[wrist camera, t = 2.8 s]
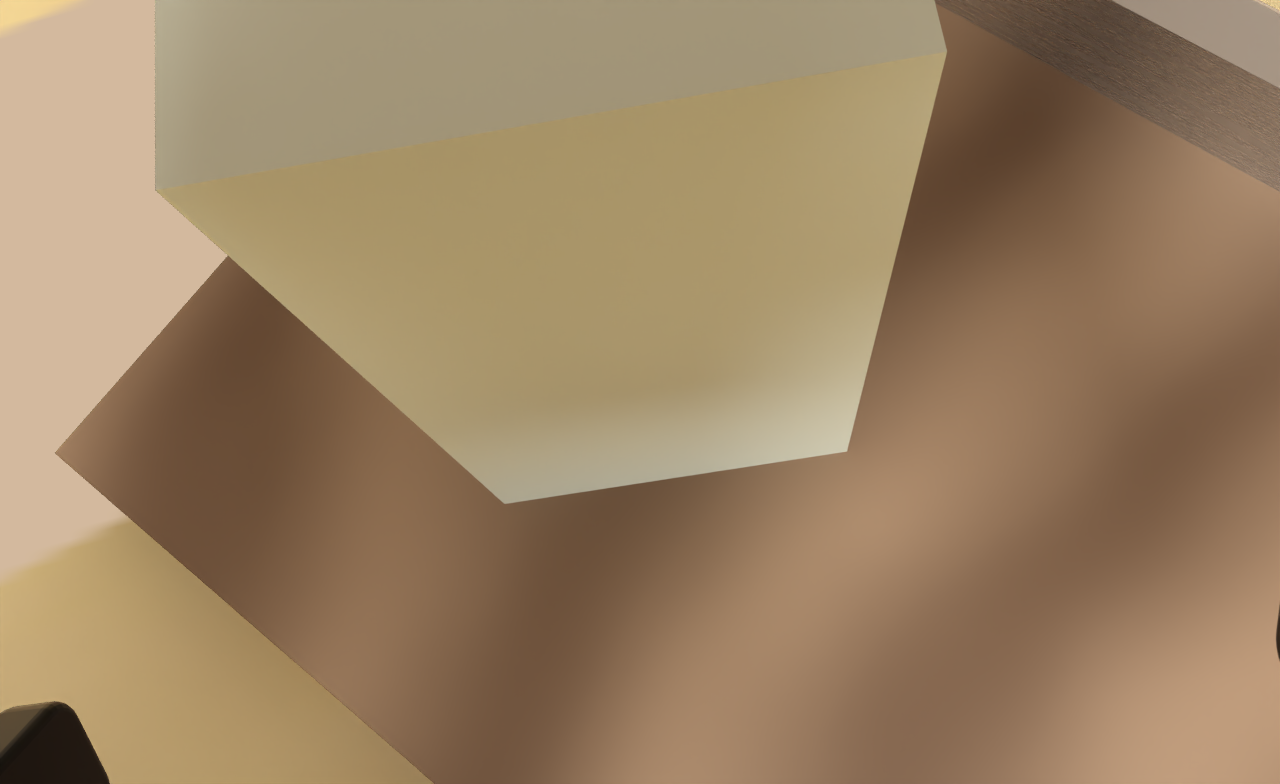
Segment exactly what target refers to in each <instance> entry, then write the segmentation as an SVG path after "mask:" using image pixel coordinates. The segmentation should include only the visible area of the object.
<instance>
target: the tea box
mask: <svg viewBox="0 0 1280 784" xmlns="http://www.w3.org/2000/svg"><path fill="white" fill-rule="evenodd" d="M946 54H947V49H946V45H945V41H944V37H943V33H942V29H941V25H940V21H939V17H938V12H937V8H936V4H935V0H155V190H156V191H157V192H158V193H159V194H160V195H161V196H162V197H163V198H165V199H166V200H167V201H168V202H169V203H170V204H171V205H173V207H175V208H176V209H177V210H178V211H179V212H180V213H181V214H182V215H183V216H185V217H186V218H187V219H188V220H189V221H190V222H191V223H192V224H193V225H195V226H196V227H197V228H198V229H199V230H200V231H201V232H202V233H204V234H205V235H206V236H207V237H208V238H209V239H210V240H211V241H213V242H214V243H215V244H216V245H217V246H218V247H219V248H220V249H221V250H222V251H224V252H225V253H226V254H227V255H228V256H229V257H230V258H231V259H232V260H234V261H235V262H236V263H237V264H238V265H239V266H240V267H241V268H242V269H244V270H245V271H246V272H247V273H248V274H249V275H250V276H251V277H252V278H254V279H255V280H256V281H257V282H258V283H259V284H260V285H261V286H262V287H264V288H265V289H266V290H267V291H268V292H269V293H270V294H271V295H272V296H274V297H275V298H276V299H277V300H278V301H279V302H280V303H281V304H283V305H284V306H285V307H286V308H287V309H288V310H289V311H290V312H291V313H293V314H294V315H295V316H296V317H297V318H298V319H299V320H300V321H301V322H303V323H304V324H305V325H306V326H307V327H308V328H309V329H310V330H311V331H313V332H314V333H315V334H316V335H317V336H318V337H319V338H320V339H321V340H323V341H324V342H325V343H326V344H327V345H328V346H329V347H330V348H331V349H333V350H334V351H335V352H336V353H337V354H338V355H339V356H340V357H341V358H343V359H344V360H345V361H346V362H347V363H348V364H349V365H350V366H351V367H353V368H354V369H355V370H356V371H357V372H358V373H359V374H360V375H362V376H363V377H364V378H365V379H366V380H367V381H368V382H369V383H370V384H372V385H373V386H374V387H375V388H376V389H377V390H378V391H379V392H380V393H382V394H383V395H384V396H385V397H386V398H387V399H388V400H389V401H390V402H392V403H393V404H394V405H395V406H396V407H397V408H398V409H399V410H400V411H402V412H403V413H404V414H405V415H406V416H407V417H408V418H409V419H410V420H412V421H413V422H414V423H415V424H416V425H417V426H418V427H419V428H420V429H422V430H423V431H424V432H425V433H426V434H427V435H428V436H429V437H431V438H432V439H433V440H434V441H435V442H436V443H437V444H438V445H439V446H441V447H442V448H443V449H444V450H445V451H446V452H447V453H448V454H449V455H451V456H452V457H453V458H454V459H455V460H456V461H457V462H458V463H459V464H461V465H462V466H463V467H464V468H465V469H466V470H467V471H468V472H469V473H471V474H472V475H473V476H474V477H475V478H476V479H477V480H478V481H479V482H481V483H482V484H483V485H484V486H485V487H486V488H487V489H488V490H489V491H491V492H492V493H493V494H494V495H495V496H496V497H497V498H498V499H500V500H501V501H502V502H503V503H504V504H508V503H514V502H521V501H527V500H534V499H541V498H547V497H554V496H560V495H567V494H573V493H580V492H586V491H593V490H599V489H606V488H612V487H619V486H625V485H632V484H638V483H645V482H652V481H658V480H665V479H671V478H678V477H684V476H691V475H697V474H704V473H710V472H717V471H723V470H730V469H736V468H743V467H749V466H756V465H762V464H769V463H776V462H782V461H789V460H795V459H802V458H808V457H815V456H821V455H828V454H834V453H841V452H847V449H848V445H849V441H850V437H851V433H852V429H853V425H854V421H855V417H856V413H857V409H858V405H859V401H860V397H861V393H862V389H863V385H864V381H865V377H866V373H867V369H868V365H869V361H870V357H871V354H872V350H873V346H874V342H875V338H876V334H877V330H878V326H879V322H880V318H881V314H882V310H883V306H884V302H885V298H886V294H887V290H888V286H889V282H890V278H891V274H892V270H893V266H894V262H895V258H896V254H897V250H898V246H899V242H900V238H901V234H902V230H903V226H904V222H905V218H906V214H907V210H908V206H909V202H910V198H911V194H912V190H913V186H914V182H915V178H916V174H917V170H918V166H919V162H920V158H921V154H922V150H923V146H924V142H925V138H926V134H927V130H928V126H929V122H930V118H931V114H932V110H933V106H934V102H935V98H936V94H937V90H938V86H939V82H940V78H941V74H942V70H943V66H944V62H945V58H946Z"/></svg>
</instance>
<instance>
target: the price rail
mask: <svg viewBox="0 0 1280 784" xmlns="http://www.w3.org/2000/svg"><path fill="white" fill-rule="evenodd" d="M935 3H936V4H938V5H940V6H942V7H943V8H945V9H947V10H949V11H951V12H952V13H954V14H956V15H958V16H960V17H962V18H963V19H965V20H967V21H969V22H971V23H973V24H974V25H976V26H978V27H980V28H982V29H983V30H985V31H987V32H989V33H991V34H993V35H994V36H996V37H998V38H1000V39H1002V40H1004V41H1005V42H1007V43H1009V44H1011V45H1013V46H1014V47H1016V48H1018V49H1020V50H1022V51H1024V52H1025V53H1027V54H1029V55H1031V56H1033V57H1035V58H1036V59H1038V60H1040V61H1042V62H1044V63H1045V64H1047V65H1049V66H1051V67H1053V68H1055V69H1056V70H1058V71H1060V72H1062V73H1064V74H1066V75H1067V76H1069V77H1071V78H1073V79H1075V80H1076V81H1078V82H1080V83H1082V84H1084V85H1086V86H1087V87H1089V88H1091V89H1093V90H1095V91H1097V92H1098V93H1100V94H1102V95H1104V96H1106V97H1107V98H1109V99H1111V100H1113V101H1115V102H1117V103H1118V104H1120V105H1122V106H1124V107H1126V108H1128V109H1129V110H1131V111H1133V112H1135V113H1137V114H1138V115H1140V116H1142V117H1144V118H1146V119H1148V120H1149V121H1151V122H1153V123H1155V124H1157V125H1159V126H1160V127H1162V128H1164V129H1166V130H1168V131H1169V132H1171V133H1173V134H1175V135H1177V136H1179V137H1180V138H1182V139H1184V140H1186V141H1188V142H1190V143H1191V144H1193V145H1195V146H1197V147H1199V148H1200V149H1202V150H1204V151H1206V152H1208V153H1210V154H1211V155H1213V156H1215V157H1217V158H1219V159H1221V160H1222V161H1224V162H1226V163H1228V164H1230V165H1231V166H1233V167H1235V168H1237V169H1239V170H1241V171H1242V172H1244V173H1246V174H1248V175H1250V176H1252V177H1253V178H1255V179H1257V180H1259V181H1261V182H1262V183H1264V184H1266V185H1268V186H1270V187H1272V188H1273V189H1275V190H1277V191H1279V192H1280V11H1279V10H1277V9H1275V8H1273V7H1271V6H1269V5H1267V4H1265V3H1263V2H1261V1H1259V0H935Z"/></svg>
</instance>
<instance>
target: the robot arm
mask: <svg viewBox="0 0 1280 784" xmlns="http://www.w3.org/2000/svg"><path fill="white" fill-rule="evenodd" d="M1276 647H1277V653H1278V658H1279V661H1280V605H1279V613H1278V621H1277V629H1276ZM0 784H110V783H109V779H108V776H107V774H106V772H105V770H104V768H103V766H102V764H101V762H100V760H99V758H98V756H97V754H96V752H95V750H94V748H93V746H92V744H91V742H90V740H89V738H88V736H87V734H86V732H85V730H84V728H83V726H82V724H81V722H80V720H79V718H78V716H77V715H76V713H75V712H74V710H73V709H72V708H70V707H69V706H68V705H67V704H65V703H61V702H47V703H39V704H31V705H23V706H17V707H12V708H10V709H7V710H5V711H3V712H2V713H0Z"/></svg>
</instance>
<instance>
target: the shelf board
mask: <svg viewBox="0 0 1280 784" xmlns="http://www.w3.org/2000/svg"><path fill="white" fill-rule="evenodd" d="M935 4H936V3H935ZM936 8H937V12H938V17H939V21H940V25H941V29H942V33H943V37H944V41H945V45H946V49H947V54H946V58H945V62H944V66H943V70H942V74H941V78H940V82H939V86H938V90H937V94H936V98H935V102H934V106H933V110H932V114H931V118H930V122H929V126H928V130H927V134H926V138H925V142H924V146H923V150H922V154H921V158H920V162H919V166H918V170H917V174H916V178H915V182H914V186H913V190H912V194H911V198H910V202H909V206H908V210H907V214H906V218H905V222H904V226H903V230H902V234H901V238H900V242H899V246H898V250H897V254H896V258H895V262H894V266H893V270H892V274H891V278H890V282H889V286H888V290H887V294H886V298H885V302H884V306H883V310H882V314H881V318H880V322H879V326H878V330H877V334H876V338H875V342H874V346H873V350H872V354H871V357H870V361H869V365H868V369H867V373H866V377H865V381H864V385H863V389H862V393H861V397H860V401H859V405H858V409H857V413H856V417H855V421H854V425H853V429H852V433H851V437H850V441H849V445H848V449H847V452H841V453H834V454H828V455H821V456H815V457H808V458H802V459H795V460H789V461H782V462H776V463H769V464H762V465H756V466H749V467H743V468H736V469H730V470H723V471H717V472H710V473H704V474H697V475H691V476H684V477H678V478H671V479H665V480H658V481H652V482H645V483H638V484H632V485H625V486H619V487H612V488H606V489H599V490H593V491H586V492H580V493H573V494H567V495H560V496H554V497H547V498H541V499H534V500H527V501H521V502H514V503H508V504H504V503H503V502H502V501H501V500H500V499H498V498H497V497H496V496H495V495H494V494H493V493H492V492H491V491H489V490H488V489H487V488H486V487H485V486H484V485H483V484H482V483H481V482H479V481H478V480H477V479H476V478H475V477H474V476H473V475H472V474H471V473H469V472H468V471H467V470H466V469H465V468H464V467H463V466H462V465H461V464H459V463H458V462H457V461H456V460H455V459H454V458H453V457H452V456H451V455H449V454H448V453H447V452H446V451H445V450H444V449H443V448H442V447H441V446H439V445H438V444H437V443H436V442H435V441H434V440H433V439H432V438H431V437H429V436H428V435H427V434H426V433H425V432H424V431H423V430H422V429H420V428H419V427H418V426H417V425H416V424H415V423H414V422H413V421H412V420H410V419H409V418H408V417H407V416H406V415H405V414H404V413H403V412H402V411H400V410H399V409H398V408H397V407H396V406H395V405H394V404H393V403H392V402H390V401H389V400H388V399H387V398H386V397H385V396H384V395H383V394H382V393H380V392H379V391H378V390H377V389H376V388H375V387H374V386H373V385H372V384H370V383H369V382H368V381H367V380H366V379H365V378H364V377H363V376H362V375H360V374H359V373H358V372H357V371H356V370H355V369H354V368H353V367H351V366H350V365H349V364H348V363H347V362H346V361H345V360H344V359H343V358H341V357H340V356H339V355H338V354H337V353H336V352H335V351H334V350H333V349H331V348H330V347H329V346H328V345H327V344H326V343H325V342H324V341H323V340H321V339H320V338H319V337H318V336H317V335H316V334H315V333H314V332H313V331H311V330H310V329H309V328H308V327H307V326H306V325H305V324H304V323H303V322H301V321H300V320H299V319H298V318H297V317H296V316H295V315H294V314H293V313H291V312H290V311H289V310H288V309H287V308H286V307H285V306H284V305H283V304H281V303H280V302H279V301H278V300H277V299H276V298H275V297H274V296H272V295H271V294H270V293H269V292H268V291H267V290H266V289H265V288H264V287H262V286H261V285H260V284H259V283H258V282H257V281H256V280H255V279H254V278H252V277H251V276H250V275H249V274H248V273H247V272H246V271H245V270H244V269H242V268H241V267H240V266H239V265H238V264H237V263H236V262H235V261H234V260H232V259H231V258H230V257H229V256H228V257H227V258H226V259H225V260H224V261H223V262H222V263H221V264H220V265H219V267H218V268H217V269H216V270H215V271H214V272H213V273H212V275H211V276H210V277H209V278H208V279H207V280H206V282H205V283H204V284H203V285H202V286H201V287H200V288H199V289H198V291H197V292H196V293H195V294H194V295H193V296H192V297H191V299H190V300H189V301H188V302H187V303H186V304H185V305H184V306H183V308H182V309H181V310H180V311H179V312H178V313H177V315H176V316H175V317H174V318H173V319H172V320H171V321H170V322H169V324H168V325H167V326H166V327H165V328H164V329H163V331H162V332H161V333H160V334H159V335H158V336H157V337H156V338H155V340H154V341H153V342H152V343H151V344H150V345H149V346H148V347H147V349H146V350H145V351H144V352H143V353H142V354H141V356H140V357H139V358H138V359H137V360H136V361H135V362H134V364H133V365H132V366H131V367H130V368H129V369H128V370H127V371H126V373H125V374H124V375H123V376H122V377H121V378H120V379H119V381H118V382H117V383H116V384H115V385H114V386H113V387H112V389H111V390H110V391H109V392H108V393H107V394H106V395H105V397H104V398H103V399H102V400H101V401H100V402H99V403H98V404H97V406H96V407H95V408H94V409H93V410H92V411H91V412H90V414H89V415H88V416H87V417H86V418H85V419H84V420H83V422H82V423H81V424H80V425H79V426H78V427H77V428H76V430H75V431H74V432H73V433H72V434H71V435H70V436H69V438H68V439H67V440H66V441H65V442H64V443H63V444H62V445H61V447H60V448H59V449H58V450H57V451H56V452H55V453H56V455H58V456H59V457H60V458H61V459H62V460H63V461H65V462H66V463H67V464H68V465H69V466H70V467H72V468H73V469H74V470H75V471H76V472H77V473H78V474H79V475H81V476H82V477H83V478H84V479H85V480H86V481H88V482H89V483H90V484H91V485H92V486H93V487H94V488H96V489H97V490H98V491H99V492H100V493H101V494H102V495H104V496H105V497H106V498H107V499H108V500H109V501H111V502H112V503H113V504H114V505H115V506H116V507H117V508H118V509H120V510H121V511H122V512H123V513H124V514H125V515H127V516H128V517H129V518H130V519H131V520H132V521H133V522H135V523H136V524H137V525H138V526H139V527H140V528H141V529H143V530H144V531H145V532H146V533H147V534H148V535H150V536H151V537H152V538H153V539H154V540H155V541H156V542H158V543H159V544H160V545H161V546H162V547H163V548H164V549H166V550H167V551H168V552H169V553H170V554H171V555H172V556H174V557H175V558H176V559H177V560H178V561H179V562H181V563H182V564H183V565H184V566H185V567H186V568H187V569H189V570H190V571H191V572H192V573H193V574H194V575H195V576H197V577H198V578H199V579H200V580H201V581H202V582H203V583H205V584H206V585H207V586H208V587H209V588H210V589H212V590H213V591H214V592H215V593H216V594H217V595H218V596H220V597H221V598H222V599H223V600H224V601H225V602H226V603H228V604H229V605H230V606H231V607H232V608H233V609H235V610H236V611H237V612H238V613H239V614H240V615H241V616H243V617H244V618H245V619H246V620H247V621H248V622H249V623H251V624H252V625H253V626H254V627H255V628H256V629H257V630H259V631H260V632H261V633H262V634H263V635H264V636H266V637H267V638H268V639H269V640H270V641H271V642H272V643H274V644H275V645H276V646H277V647H278V648H279V649H280V650H282V651H283V652H284V653H285V654H286V655H287V656H289V657H290V658H291V659H292V660H293V661H294V662H295V663H297V664H298V665H299V666H300V667H301V668H302V669H303V670H305V671H306V672H307V673H308V674H309V675H310V676H311V677H313V678H314V679H315V680H316V681H317V682H318V683H320V684H321V685H322V686H323V687H324V688H325V689H326V690H328V691H329V692H330V693H331V694H332V695H333V696H334V697H336V698H337V699H338V700H339V701H340V702H341V703H343V704H344V705H345V706H346V707H347V708H348V709H349V710H351V711H352V712H353V713H354V714H355V715H356V716H357V717H359V718H360V719H361V720H362V721H363V722H364V723H365V724H367V725H368V726H369V727H370V728H371V729H372V730H374V731H375V732H376V733H377V734H378V735H379V736H380V737H382V738H383V739H384V740H385V741H386V742H387V743H388V744H390V745H391V746H392V747H393V748H394V749H395V750H397V751H398V752H399V753H400V754H401V755H402V756H403V757H405V758H406V759H407V760H408V761H409V762H410V763H411V764H413V765H414V766H415V767H416V768H417V769H418V770H419V771H421V772H422V773H423V774H424V775H425V776H426V777H428V778H429V779H430V780H431V781H432V782H433V783H434V784H1280V661H1279V658H1278V653H1277V647H1276V629H1277V621H1278V613H1279V605H1280V192H1279V191H1277V190H1275V189H1273V188H1272V187H1270V186H1268V185H1266V184H1264V183H1262V182H1261V181H1259V180H1257V179H1255V178H1253V177H1252V176H1250V175H1248V174H1246V173H1244V172H1242V171H1241V170H1239V169H1237V168H1235V167H1233V166H1231V165H1230V164H1228V163H1226V162H1224V161H1222V160H1221V159H1219V158H1217V157H1215V156H1213V155H1211V154H1210V153H1208V152H1206V151H1204V150H1202V149H1200V148H1199V147H1197V146H1195V145H1193V144H1191V143H1190V142H1188V141H1186V140H1184V139H1182V138H1180V137H1179V136H1177V135H1175V134H1173V133H1171V132H1169V131H1168V130H1166V129H1164V128H1162V127H1160V126H1159V125H1157V124H1155V123H1153V122H1151V121H1149V120H1148V119H1146V118H1144V117H1142V116H1140V115H1138V114H1137V113H1135V112H1133V111H1131V110H1129V109H1128V108H1126V107H1124V106H1122V105H1120V104H1118V103H1117V102H1115V101H1113V100H1111V99H1109V98H1107V97H1106V96H1104V95H1102V94H1100V93H1098V92H1097V91H1095V90H1093V89H1091V88H1089V87H1087V86H1086V85H1084V84H1082V83H1080V82H1078V81H1076V80H1075V79H1073V78H1071V77H1069V76H1067V75H1066V74H1064V73H1062V72H1060V71H1058V70H1056V69H1055V68H1053V67H1051V66H1049V65H1047V64H1045V63H1044V62H1042V61H1040V60H1038V59H1036V58H1035V57H1033V56H1031V55H1029V54H1027V53H1025V52H1024V51H1022V50H1020V49H1018V48H1016V47H1014V46H1013V45H1011V44H1009V43H1007V42H1005V41H1004V40H1002V39H1000V38H998V37H996V36H994V35H993V34H991V33H989V32H987V31H985V30H983V29H982V28H980V27H978V26H976V25H974V24H973V23H971V22H969V21H967V20H965V19H963V18H962V17H960V16H958V15H956V14H954V13H952V12H951V11H949V10H947V9H945V8H943V7H942V6H940V5H938V4H936Z"/></svg>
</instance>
